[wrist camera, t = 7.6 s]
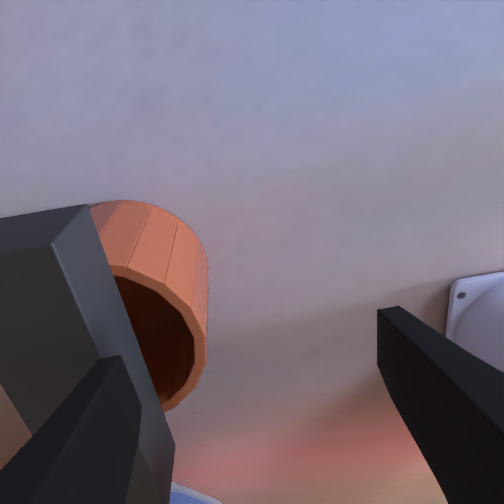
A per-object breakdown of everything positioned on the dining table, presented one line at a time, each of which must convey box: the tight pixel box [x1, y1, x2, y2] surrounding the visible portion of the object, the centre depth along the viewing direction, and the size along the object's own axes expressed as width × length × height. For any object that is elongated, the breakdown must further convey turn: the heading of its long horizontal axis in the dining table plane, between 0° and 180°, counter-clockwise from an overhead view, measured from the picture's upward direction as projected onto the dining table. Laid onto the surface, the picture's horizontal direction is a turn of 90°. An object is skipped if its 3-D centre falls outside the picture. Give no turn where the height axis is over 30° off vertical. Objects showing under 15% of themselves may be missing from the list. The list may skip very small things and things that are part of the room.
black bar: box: [0, 204, 175, 504], centre depth 14 cm, size 12×3×3 cm, turn 8°
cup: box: [89, 200, 209, 413], centre depth 18 cm, size 8×8×6 cm
